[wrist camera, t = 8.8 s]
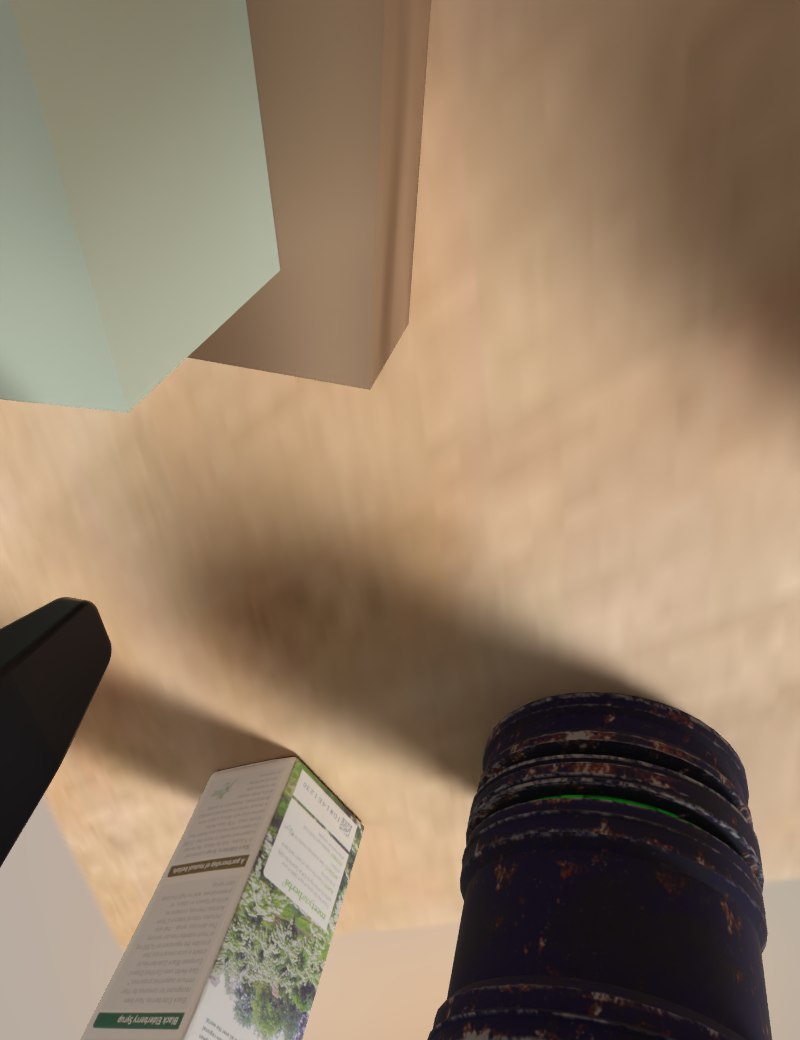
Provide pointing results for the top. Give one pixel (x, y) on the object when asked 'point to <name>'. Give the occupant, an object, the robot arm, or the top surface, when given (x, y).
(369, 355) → the block
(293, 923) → the syrup box
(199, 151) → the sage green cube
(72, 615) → the robot arm
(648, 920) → the storage jar
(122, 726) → the top surface
